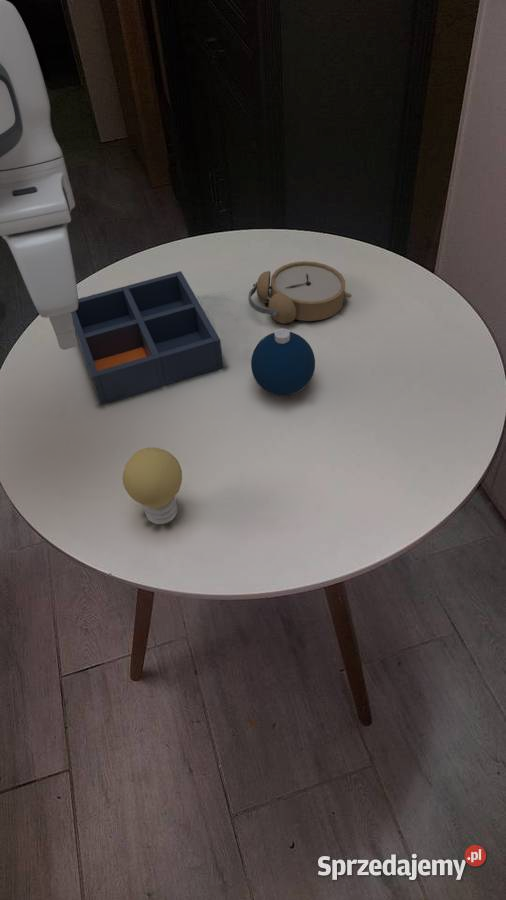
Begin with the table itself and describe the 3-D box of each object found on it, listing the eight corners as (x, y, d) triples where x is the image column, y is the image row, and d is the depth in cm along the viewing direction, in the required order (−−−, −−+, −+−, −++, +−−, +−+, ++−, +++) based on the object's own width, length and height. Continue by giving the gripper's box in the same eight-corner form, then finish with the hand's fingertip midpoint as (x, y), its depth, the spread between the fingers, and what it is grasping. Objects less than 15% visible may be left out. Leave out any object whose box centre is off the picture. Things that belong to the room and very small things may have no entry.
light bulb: (198, 499, 81) (187, 443, 73) (176, 542, 77) (162, 488, 70) (149, 486, 83) (134, 430, 75) (125, 528, 79) (107, 473, 71)
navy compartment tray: (100, 405, 92) (92, 377, 89) (74, 329, 104) (65, 302, 100) (223, 367, 96) (220, 339, 92) (185, 298, 107) (181, 270, 103)
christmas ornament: (294, 358, 96) (293, 300, 89) (326, 393, 91) (328, 334, 84) (241, 380, 94) (236, 322, 87) (272, 417, 89) (269, 359, 82)
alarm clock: (360, 294, 100) (267, 306, 95) (353, 322, 104) (263, 335, 99) (327, 255, 107) (238, 265, 102) (321, 283, 111) (235, 293, 106)
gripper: (-10, 188, 73) (28, 311, 80) (-8, 220, 56) (40, 372, 63) (49, 177, 75) (82, 299, 82) (69, 205, 58) (107, 356, 65)
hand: (64, 332), depth 72 cm, fingers open, 8 cm apart
